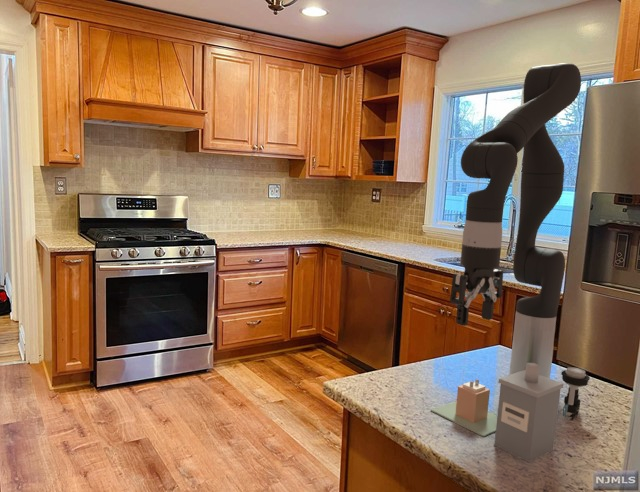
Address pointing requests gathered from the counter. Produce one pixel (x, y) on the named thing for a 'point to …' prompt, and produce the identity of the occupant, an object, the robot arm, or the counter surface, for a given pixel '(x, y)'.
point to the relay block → (472, 401)
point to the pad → (479, 427)
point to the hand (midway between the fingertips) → (474, 321)
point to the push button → (573, 390)
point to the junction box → (527, 413)
